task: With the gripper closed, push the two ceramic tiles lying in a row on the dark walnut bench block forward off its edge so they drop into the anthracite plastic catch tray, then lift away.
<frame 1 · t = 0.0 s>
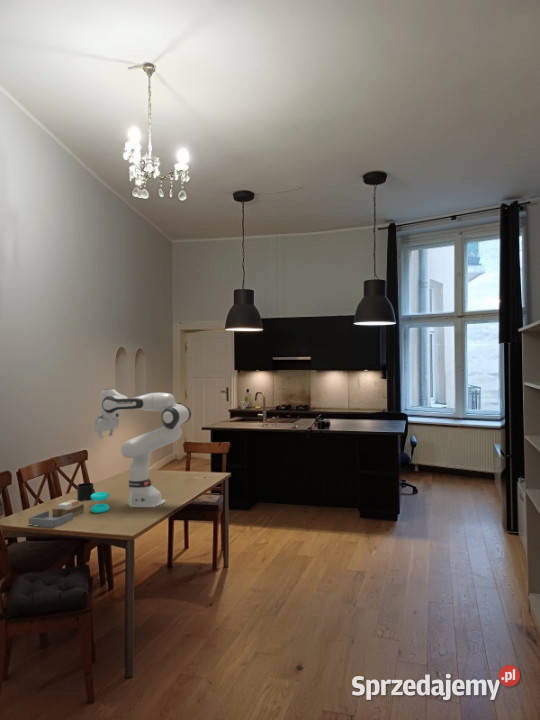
hand: (105, 437, 319), 39 cm above the table, tool pointing down, fingers open, 8 cm apart
tray: (51, 522, 277), on the table
mug: (87, 499, 324), on the table
donuts: (100, 511, 297), on the table
bench: (68, 515, 289), on the table
tile rear: (72, 504, 292), point 5 cm above the table, touching bench
tile front: (65, 507, 287), point 5 cm above the table, touching bench
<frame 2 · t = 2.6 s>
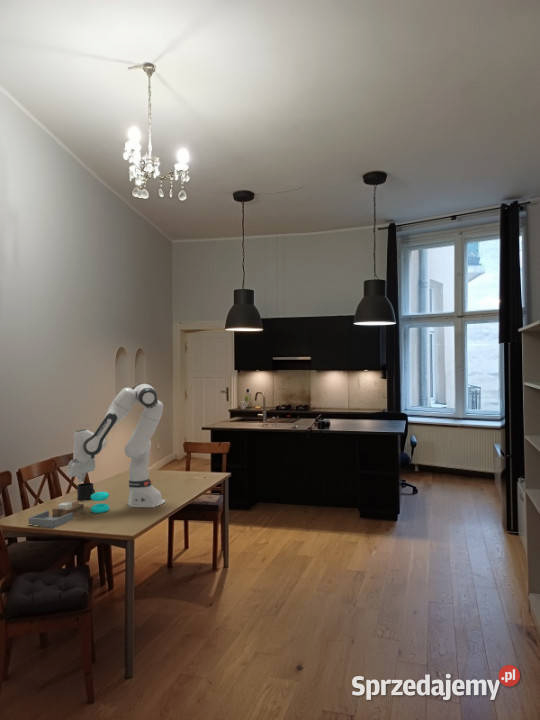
hand: (81, 481, 301), 16 cm above the table, tool pointing down, fingers closed
nothing on the table moved.
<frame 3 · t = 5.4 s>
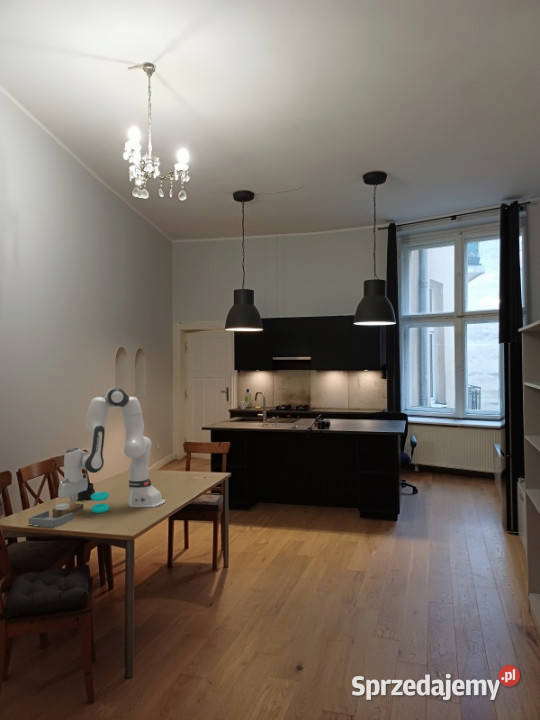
hand: (73, 502, 294), 6 cm above the table, tool pointing down, fingers closed
tile rear: (69, 506, 290), point 5 cm above the table, touching gripper
tile front: (62, 508, 285), point 5 cm above the table
everything else where it was.
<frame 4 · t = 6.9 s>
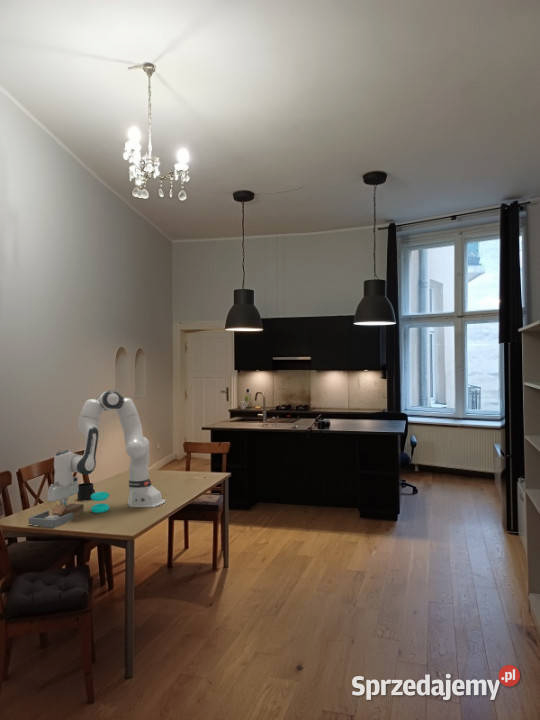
hand: (63, 505, 286), 6 cm above the table, tool pointing down, fingers closed
tile rear: (59, 510, 283), point 4 cm above the table, tilted 47°
tile front: (52, 516, 278), point 3 cm above the table, tilted 180°, touching tray
everything else where it was.
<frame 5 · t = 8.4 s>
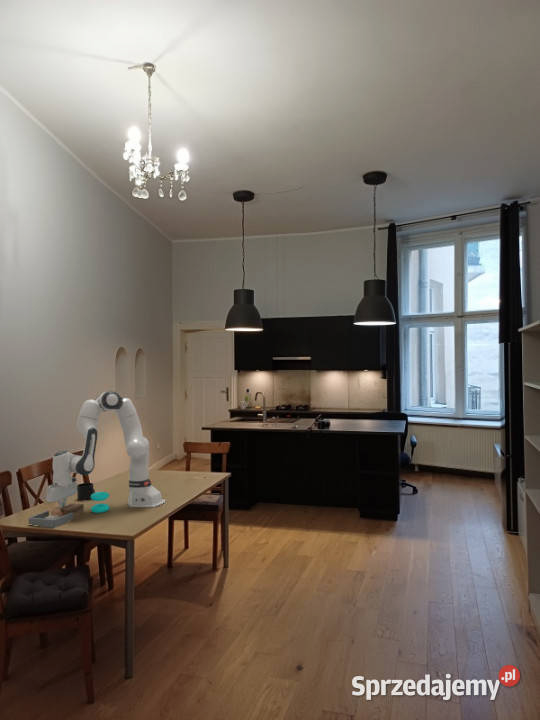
hand: (62, 506, 285), 6 cm above the table, tool pointing down, fingers closed
tile rear: (58, 512, 282), point 4 cm above the table, tilted 118°, touching tile front, tray
tile front: (52, 516, 278), point 3 cm above the table, tilted 180°, touching tile rear, tray
everything else where it was.
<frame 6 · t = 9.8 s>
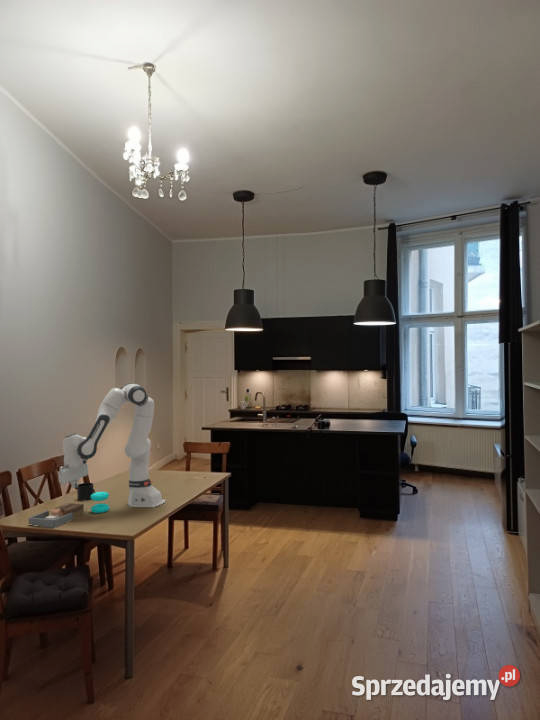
hand: (74, 487, 294), 14 cm above the table, tool pointing down, fingers closed
nothing on the table moved.
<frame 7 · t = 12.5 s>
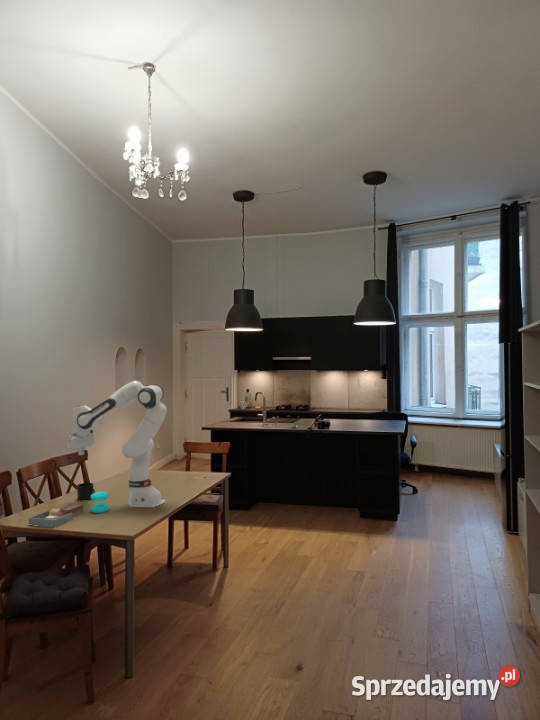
hand: (81, 454, 315), 29 cm above the table, tool pointing down, fingers closed
nothing on the table moved.
at the end: tile front inside the target area on the tray (1.0 cm from its centre), point 3.0 cm above the tray's base; tile rear inside the target area on the tray (5.5 cm from its centre), point 4.0 cm above the tray's base; tile rear touching tile front, tray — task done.
